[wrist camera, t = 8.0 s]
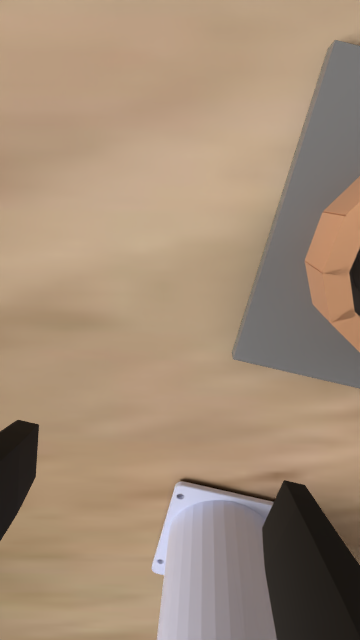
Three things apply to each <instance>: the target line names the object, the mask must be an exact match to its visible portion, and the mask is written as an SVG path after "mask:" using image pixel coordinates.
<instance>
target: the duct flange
mask: <svg viewBox="0 0 360 640" xmlns="http://www.w3.org/2000/svg"><path fill="white" fill-rule="evenodd" d="M359 248H360V46H358V45H354V44H350V43H346V42H342V41H338V40H335V41H334V42H333V43H332V44H331V46H330V47H329V48H328V50H327V53H326V56H325V59H324V63H323V66H322V69H321V72H320V75H319V78H318V82H317V85H316V88H315V91H314V94H313V97H312V101H311V104H310V107H309V110H308V113H307V116H306V120H305V123H304V126H303V129H302V132H301V135H300V139H299V142H298V145H297V148H296V151H295V154H294V157H293V161H292V164H291V167H290V170H289V173H288V176H287V180H286V183H285V186H284V189H283V192H282V195H281V199H280V202H279V205H278V208H277V211H276V214H275V218H274V221H273V224H272V227H271V230H270V233H269V237H268V240H267V243H266V246H265V249H264V252H263V256H262V259H261V262H260V265H259V268H258V271H257V275H256V278H255V281H254V284H253V287H252V290H251V294H250V297H249V300H248V303H247V306H246V309H245V313H244V316H243V319H242V322H241V325H240V328H239V332H238V335H237V338H236V341H235V344H234V347H233V350H232V356H233V359H234V360H239V361H243V362H247V363H252V364H256V365H260V366H265V367H269V368H273V369H278V370H282V371H286V372H291V373H295V374H299V375H304V376H308V377H312V378H317V379H321V380H325V381H330V382H334V383H338V384H343V385H347V386H351V387H355V388H360V292H359V291H358V289H357V288H356V286H355V283H354V280H353V275H352V265H353V262H354V260H355V258H356V255H357V253H358V251H359Z"/></svg>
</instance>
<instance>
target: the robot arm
mask: <svg viewBox="0 0 360 640" xmlns="http://www.w3.org/2000/svg"><path fill="white" fill-rule="evenodd" d="M38 431H39V425H38V424H34V423H30V422H25V421H21V420H17V421H15V422H14V423H12V424H11V425H9V426H8V427H6V428H5V429H3V430H2V431H1V432H0V541H1V539H2V537H3V536H4V534H5V533H6V531H7V529H8V528H9V526H10V525H11V523H12V521H13V520H14V518H15V516H16V515H17V513H18V511H19V509H20V507H21V505H22V503H23V501H24V499H25V497H26V495H27V493H28V491H29V489H30V487H31V485H32V483H33V481H34V479H35V477H36V462H37V446H38ZM152 570H153V572H155V573H157V574H162V575H164V581H163V590H162V599H161V608H160V617H159V626H158V635H157V640H360V565H359V564H358V562H357V561H356V560H355V558H354V557H353V555H352V554H351V552H350V551H349V550H348V548H347V547H346V545H345V544H344V542H343V541H342V539H341V538H340V536H339V535H338V533H337V532H336V531H335V529H334V528H333V526H332V525H331V523H330V522H329V520H328V519H327V517H326V516H325V514H324V513H323V511H322V510H321V508H320V507H319V505H318V504H317V502H316V501H315V499H314V498H313V496H312V495H311V493H310V492H309V491H308V489H307V488H306V486H305V485H302V484H298V483H293V482H289V481H285V480H284V482H283V484H282V486H281V488H280V490H279V492H278V494H277V497H276V499H275V501H274V502H272V501H267V500H263V499H259V498H254V497H250V496H245V495H241V494H237V493H232V492H228V491H223V490H219V489H214V488H210V487H206V486H201V485H197V484H192V483H188V482H183V481H181V482H178V483H176V485H175V488H174V491H173V495H172V498H171V502H170V505H169V508H168V512H167V515H166V519H165V522H164V525H163V529H162V532H161V536H160V539H159V543H158V546H157V549H156V553H155V556H154V560H153V563H152Z"/></svg>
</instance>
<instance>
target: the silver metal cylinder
mask: <svg viewBox="0 0 360 640" xmlns="http://www.w3.org/2000/svg"><path fill="white" fill-rule="evenodd" d="M352 275H353V280H354V283H355V286H356V288H357V289H358V291H359V292H360V248H359V251H358V253H357V255H356V258H355V260H354V262H353V265H352Z"/></svg>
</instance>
